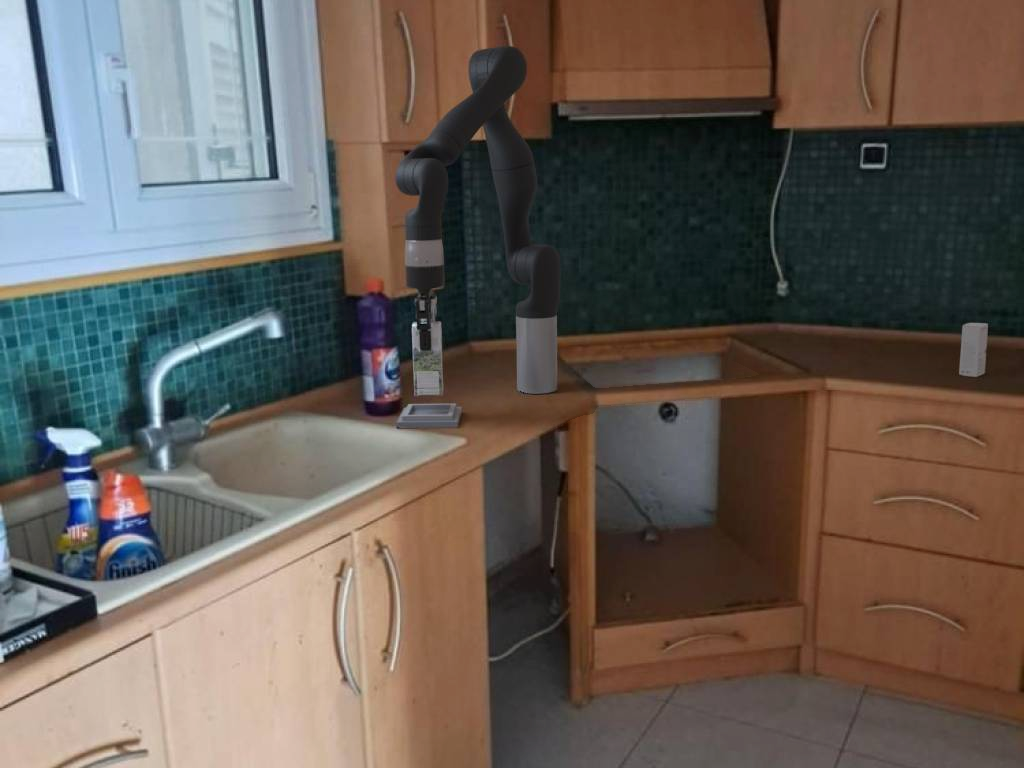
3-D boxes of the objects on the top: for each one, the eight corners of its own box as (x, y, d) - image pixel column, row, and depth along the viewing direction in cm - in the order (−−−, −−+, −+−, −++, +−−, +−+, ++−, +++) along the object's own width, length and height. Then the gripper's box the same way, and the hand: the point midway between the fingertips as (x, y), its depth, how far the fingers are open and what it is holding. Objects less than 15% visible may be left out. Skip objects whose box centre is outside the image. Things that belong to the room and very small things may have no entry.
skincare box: (977, 377, 220) (982, 326, 217) (957, 375, 223) (961, 324, 220) (985, 373, 224) (990, 323, 222) (965, 370, 227) (970, 321, 225)
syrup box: (443, 390, 192) (441, 320, 189) (442, 396, 186) (440, 324, 183) (416, 390, 192) (413, 320, 189) (414, 397, 186) (411, 325, 183)
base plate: (404, 413, 196) (404, 402, 196) (461, 412, 196) (461, 402, 195) (396, 428, 184) (396, 417, 184) (457, 427, 184) (456, 416, 184)
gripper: (440, 266, 176) (442, 353, 180) (446, 259, 190) (449, 341, 194) (400, 266, 176) (404, 354, 180) (410, 259, 190) (413, 341, 194)
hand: (427, 347), depth 187 cm, fingers closed on syrup box, 6 cm apart
